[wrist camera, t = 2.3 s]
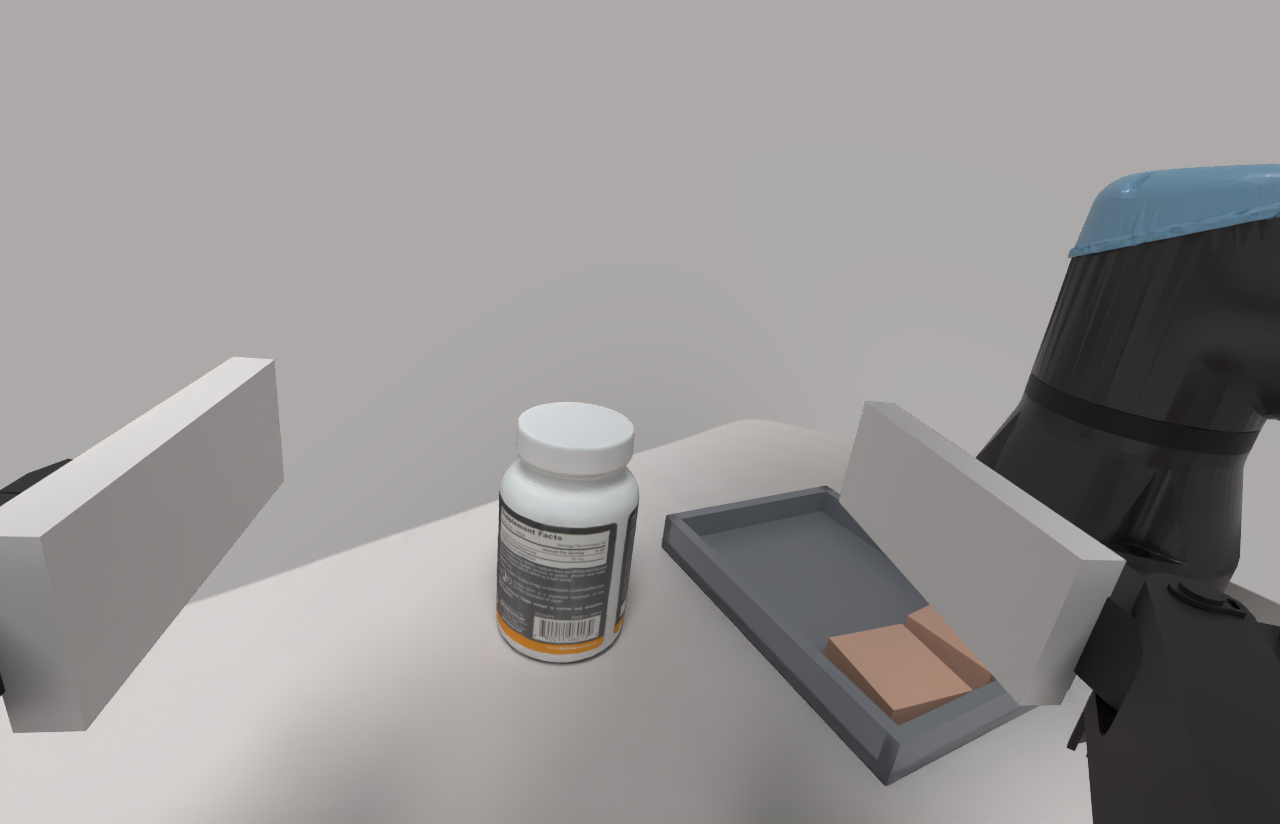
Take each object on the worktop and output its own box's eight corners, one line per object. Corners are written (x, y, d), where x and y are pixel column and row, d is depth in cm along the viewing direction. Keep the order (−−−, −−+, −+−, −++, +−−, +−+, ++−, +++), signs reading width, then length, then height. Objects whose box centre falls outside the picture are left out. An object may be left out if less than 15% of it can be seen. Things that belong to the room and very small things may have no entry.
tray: (819, 512, 41) (826, 485, 41) (1069, 689, 29) (1085, 653, 28) (661, 546, 36) (666, 515, 35) (886, 785, 23) (900, 744, 22)
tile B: (895, 645, 29) (901, 623, 29) (963, 713, 26) (973, 690, 25) (822, 659, 28) (829, 637, 27) (885, 734, 24) (893, 710, 24)
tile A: (948, 611, 32) (956, 592, 31) (1029, 664, 29) (1038, 643, 28) (901, 636, 30) (907, 615, 29) (982, 695, 27) (991, 673, 26)
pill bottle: (547, 570, 32) (560, 387, 29) (644, 615, 30) (672, 421, 26) (467, 632, 28) (471, 421, 24) (576, 692, 25) (598, 467, 22)
